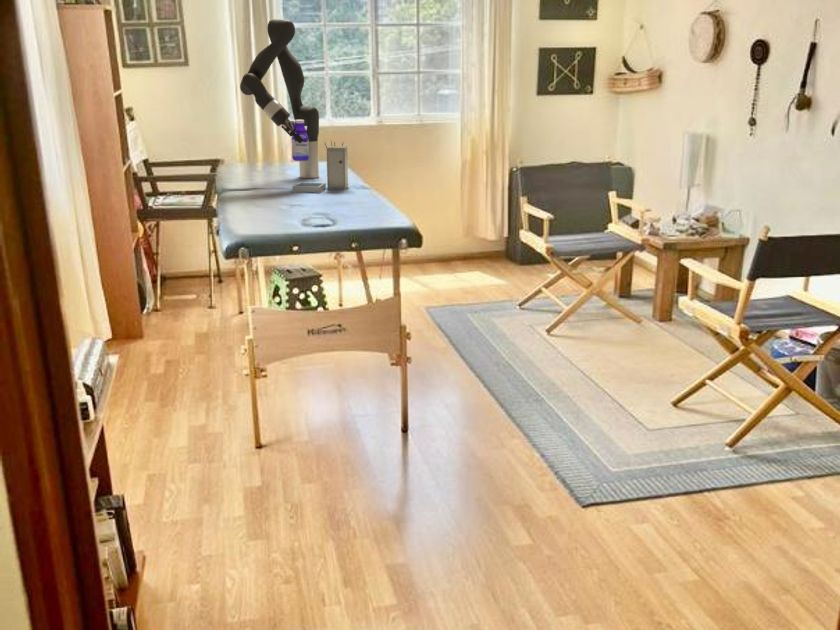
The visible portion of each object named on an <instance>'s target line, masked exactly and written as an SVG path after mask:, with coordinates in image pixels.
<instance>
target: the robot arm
mask: <svg viewBox="0 0 840 630" xmlns="http://www.w3.org/2000/svg"><path fill="white" fill-rule="evenodd" d="M266 27H267V28H266V29H267V35H268V38H269V41H270V44H268V45H267V46H266V47H264V48H263V49H262V50H261V51H260V52H259V53H257V55H256V56H255V58H254V60H253V61H252V63H251V65H250V66H249V70H248V71H247V73H245V74H244V75H243V76H242V79H241V82H240V84H239V88H240V91H241V93H242V94H243V95H245V96H251V95H252V96H254V100H255V103H256V105H257V106H258V107H259V108H260V109H261V110H262V111H263V112H264V114H265V115H266V116H267V117H268V118H269V119H270V120H271V121H272V123H274V124H275V125H276V126H277V127H281V129H283V131H285V133H287V135H288V136H289V137H291V138H292V137H294V138H295V139H296V140H297V141H298V142H299V143H301V142H302V141H303V139H302V138H301V137H300V136H299V135H298V134H297V132H296V131H295V128H294V126H295V120H304V126H305V127H306V134H307V136H308V139H309V159H308V160H307V161H298V163H299V164H298V165H299V166H298V167H299V178H305V179H313V178H319V177H320V176H319V175H320V173H319V169H320V168H319V166H320V165H319V140H318V139H319V134H320V133H319V132H320V114H319V110H318V108H317V107H315V106H304V105H303V103H302V102H303V101H302V91H303V89H304V85H305V77H304V72H303V68H302V66H301V63H299V60H298V59H297V58H296V57H295V56H294V55H293V53H291V51H290V49H289V48H288V47H287V46H288V45H289V44H290V42H291V41H292V40H293V39H294V37H295V35H296V28H295V25H294V23H293V21H291V20H289V19H279V18H278V19H277V18H276V19H275V18H274V19H270V20H269V21H268V23H267V26H266ZM276 59H277V60H278V61H277V62H278V63H279V67H280V69H281V74H282V77H283V82H284V83H285V87H286V90H287V93H288V97H289V101H290V106H291V110H292V111H291V112H292V114H293V115H292V117H293V119H294V120H290V119H289V118H290V117H291V114H290V113H289V111H287V109H285V108H284V106H283V105H282V104H281V103H280V102H279V101H278V100H276V98H274V96H272V95H271V93H269V92H268V90H267V88H266V87H265V85H264V83H263V82H262V79H263V78H264V77H265V75H266V74H267V72H268V70H269V69H270V67H271V65H273V62H274V61H275V60H276Z"/></svg>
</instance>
